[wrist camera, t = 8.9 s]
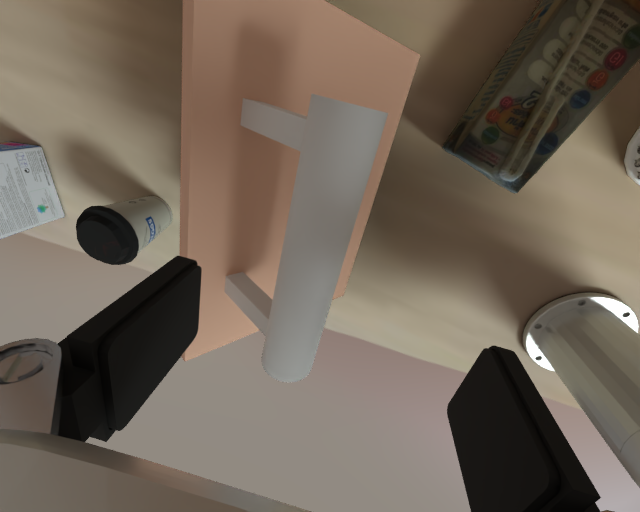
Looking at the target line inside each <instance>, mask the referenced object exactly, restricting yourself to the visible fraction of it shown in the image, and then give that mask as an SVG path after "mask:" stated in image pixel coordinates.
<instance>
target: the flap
mask: <svg viewBox="0 0 640 512" xmlns="http://www.w3.org/2000/svg"><path fill="white" fill-rule="evenodd" d="M419 58H420V55H419V54H418V53H416V52H414V51H412V50H411V49H409V48H407V47H405V46H404V45H402V44H400V43H398V42H397V41H395V40H393V39H391V38H390V37H388V36H386V35H384V34H383V33H381V32H379V31H377V30H376V29H374V28H372V27H370V26H369V25H367V24H365V23H363V22H362V21H360V20H358V19H356V18H355V17H353V16H351V15H349V14H348V13H346V12H344V11H342V10H341V9H339V8H337V7H335V6H334V5H332V4H330V3H328V2H327V1H325V0H183V21H182V105H181V188H180V256H182V257H186V258H189V259H193V260H196V261H197V264H198V266H200V267H201V269H202V274H201V291H200V309H199V326H198V332H197V335H196V337H195V339H194V340H193V342H192V343H191V344H190V345H189V347H188V348H187V349H186V350H185V352H184V353H183V354H182V358H183V360H184V361H188V360H190V359H193V358H195V357H197V356H199V355H202V354H205V353H207V352H209V351H212V350H214V349H216V348H219V347H221V346H224V345H226V344H228V343H231V342H233V341H236V340H238V339H240V338H243V337H245V336H248V335H250V334H252V333H255V332H257V331H261V332H262V333H263V334H264V335H265V336H266V337H265V343H264V348H263V353H262V366H263V368H264V370H265V371H266V372H267V373H268V375H270V376H271V377H272V378H274V379H276V380H279V381H282V382H296V381H299V380H302V379H303V378H305V377H306V376H307V375H308V374H309V373H310V371H311V368H312V365H313V361H314V358H315V355H316V351H317V348H318V345H319V341H320V338H321V335H322V331H323V328H324V325H325V322H326V318H327V315H328V312H329V308H330V305H331V302H332V300H334V299H336V298H338V297H341V296H343V295H344V292H345V289H346V286H347V283H348V280H349V277H350V274H351V271H352V267H353V264H354V261H355V258H356V255H357V252H358V249H359V246H360V242H361V239H362V236H363V233H364V230H365V227H366V224H367V221H368V218H369V214H370V211H371V208H372V205H373V202H374V199H375V196H376V193H377V189H378V186H379V183H380V180H381V177H382V174H383V171H384V168H385V164H386V161H387V158H388V155H389V152H390V149H391V146H392V143H393V139H394V136H395V133H396V130H397V127H398V124H399V121H400V118H401V114H402V111H403V108H404V105H405V102H406V99H407V96H408V93H409V90H410V86H411V83H412V80H413V77H414V74H415V71H416V68H417V65H418V61H419Z"/></svg>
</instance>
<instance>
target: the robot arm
mask: <svg viewBox="0 0 640 512" xmlns="http://www.w3.org/2000/svg"><path fill="white" fill-rule="evenodd" d="M201 274H202V269H201V267H200V266H198V264H197V261H196V260H193V259H189V258H186V257H182V256H176V257H175V258H173V259H172V260H171V261H169V262H168V263H167V264H165V265H164V266H162V267H161V268H160V269H158V270H157V271H156V272H154V273H153V274H152V275H150V276H149V277H147V278H146V279H145V280H143V281H142V282H141V283H139V284H138V285H136V286H135V287H134V288H132V289H131V290H130V291H128V292H127V293H125V294H124V295H123V296H122V297H120V298H119V299H118V300H116V301H115V302H113V303H112V304H110V305H109V306H108V307H106V308H105V309H104V310H102V311H101V312H99V313H98V314H97V315H95V316H94V317H93V318H91V319H90V320H88V321H87V322H86V323H84V324H83V325H82V326H80V327H79V328H78V329H76V330H75V331H74V332H72V333H71V334H69V335H68V336H67V338H65V339H63V340H62V341H61V342H59V343H58V344H56V343H55V342H53V341H50V340H47V339H39V338H35V339H24V340H19V341H15V342H11V343H8V344H6V345H3V346H0V512H311V511H308V510H304V509H301V508H298V507H295V506H292V505H289V504H286V503H282V502H279V501H276V500H273V499H270V498H267V497H263V496H260V495H257V494H254V493H250V492H247V491H244V490H241V489H238V488H234V487H232V486H228V485H225V484H222V483H218V482H215V481H212V480H209V479H205V478H202V477H199V476H196V475H193V474H190V473H186V472H183V471H180V470H177V469H173V468H170V467H167V466H164V465H161V464H157V463H154V462H151V461H148V460H144V459H141V458H137V457H134V456H131V455H127V454H124V453H120V452H116V451H113V450H110V449H106V448H103V447H99V446H96V445H92V444H89V443H85V441H86V440H87V439H88V438H89V437H93V438H96V439H99V440H102V441H105V442H107V440H108V439H109V438H110V437H111V436H112V434H113V433H114V432H115V430H118V431H120V430H122V429H123V428H124V427H125V426H126V425H127V424H128V423H129V421H130V420H131V419H132V418H133V416H134V415H135V414H136V413H137V411H138V410H139V409H140V407H141V406H142V405H143V404H144V402H145V401H146V400H147V399H148V397H149V396H150V394H152V392H153V391H154V390H155V388H156V387H157V386H158V385H159V383H160V382H161V381H162V380H163V378H164V377H165V376H166V374H167V373H168V372H169V371H170V369H171V368H172V367H173V366H174V364H175V363H176V362H177V361H178V359H179V358H180V357H181V356H182V354H183V353H184V352H185V350H186V349H187V348H188V347H189V345H190V344H191V343H192V342H193V340H194V339H195V337H196V335H197V332H198V326H199V309H200V291H201ZM523 345H524V348H525V350H526V352H527V353H528V355H529V356H530V358H531V359H532V360H533V361H534V362H535V363H537V364H538V365H539V366H541V367H543V368H546V369H548V370H552V371H555V372H556V373H557V375H558V376H559V377H560V379H561V380H562V382H563V383H564V384H565V386H566V387H567V389H568V390H569V391H570V393H571V394H572V396H573V397H574V398H575V400H576V401H577V403H578V404H579V405H580V407H581V408H582V409H583V411H584V412H585V414H586V415H587V416H588V418H589V419H590V421H591V422H592V423H593V425H594V426H595V428H596V429H597V430H598V432H599V433H600V434H601V436H602V437H603V439H604V440H605V442H606V443H607V444H608V446H609V447H610V449H611V450H612V451H613V453H614V454H615V455H616V457H617V458H618V460H619V461H620V462H621V464H622V465H623V467H624V468H625V469H626V471H627V472H628V473H629V475H630V476H631V478H632V479H633V480H634V481H635V483H636V484H637V485H638V486H639V488H640V334H639V333H638V320H637V317H636V315H635V313H634V312H633V311H632V310H631V309H630V308H629V306H627V305H626V304H625V303H623V302H622V301H620V300H619V299H617V298H615V297H613V296H610V295H606V294H602V293H578V294H572V295H568V296H565V297H562V298H559V299H557V300H554V301H552V302H550V303H548V304H547V305H545V306H544V307H542V308H541V309H539V310H538V311H537V312H536V313H535V314H534V315H533V316H532V317H531V319H530V320H529V321H528V323H527V325H526V327H525V329H524V332H523ZM447 414H448V419H449V423H450V427H451V431H452V435H453V439H454V444H455V447H456V452H457V456H458V460H459V464H460V468H461V472H462V476H463V480H464V484H465V488H466V492H467V496H468V500H469V505H470V508H471V512H600V510H599V509H598V507H597V505H596V503H595V502H596V501H597V500H598V499H600V496H599V494H598V492H597V491H596V489H595V487H594V485H593V484H592V482H591V480H590V479H589V477H588V476H587V474H586V472H585V470H584V469H583V467H582V465H581V463H580V462H579V460H578V458H577V457H576V455H575V453H574V452H573V450H572V448H571V447H570V445H569V443H568V441H567V440H566V438H565V436H564V435H563V433H562V431H561V430H560V428H559V426H558V425H557V423H556V421H555V419H554V418H553V416H552V414H551V413H550V411H549V409H548V408H547V406H546V404H545V403H544V401H543V399H542V397H541V396H540V394H539V392H538V391H537V389H536V387H535V386H534V384H533V382H532V380H531V379H530V377H529V375H528V374H527V372H526V370H525V369H524V367H523V365H522V364H521V362H520V360H519V358H518V357H517V355H516V354H515V352H513V351H511V350H508V349H504V348H501V347H497V346H491V347H489V349H487V348H485V349H484V350H483V351H482V352H481V354H480V355H479V357H478V358H477V360H476V361H475V363H474V365H473V366H472V368H471V369H470V371H469V372H468V374H467V376H466V377H465V379H464V380H463V382H462V383H461V385H460V387H459V388H458V390H457V391H456V393H455V395H454V396H453V398H452V399H451V401H450V402H449V404H448V409H447ZM602 512H613V511H609V510H605V511H602Z"/></svg>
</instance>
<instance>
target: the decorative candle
mask: <svg viewBox="0 0 640 512" xmlns="http://www.w3.org/2000/svg"><path fill="white" fill-rule="evenodd" d="M624 164H625V168H626V172H627V175H628V176H629V177H630V178H631V179H632V180H633V181H634V182H635V183H636V184H638V185H640V127H639V128H638V129H637V131H636V132H635V134H634V135H633V137H632V139H631V140H630V142H629V143H628V145H627V150H626V154H625V158H624Z"/></svg>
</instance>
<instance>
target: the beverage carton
mask: <svg viewBox="0 0 640 512" xmlns="http://www.w3.org/2000/svg"><path fill="white" fill-rule="evenodd" d="M639 59H640V0H542V1H541V3H540V4H539V5H538V7H537V8H536V10H535V11H534V13H533V14H532V16H531V17H530V19H529V20H528V22H527V23H526V25H525V26H524V27H523V29H522V30H521V31H520V33H519V34H518V36H517V37H516V39H515V40H514V42H513V43H512V44H511V46H510V47H509V49H508V50H507V52H506V53H505V55H504V56H503V58H502V59H501V61H500V62H499V63H498V65H497V66H496V68H495V69H494V71H493V72H492V74H491V75H490V76H489V78H488V79H487V81H486V82H485V84H484V85H483V86H482V88H481V89H480V91H479V92H478V94H477V95H476V97H475V98H474V100H473V101H472V103H471V104H470V106H469V107H468V109H467V110H466V112H465V113H464V115H463V116H462V118H461V120H460V121H459V123H458V125H457V126H456V128H455V129H454V130H453V132H452V133H451V135H450V136H449V138H448V139H447V141H446V142H445V143H444V145H443V146H442V148H443V149H444V150H445V151H446V152H448V153H450V154H452V155H454V156H456V157H458V158H459V159H461V160H462V161H464V162H465V163H467V164H468V165H470V166H471V167H473V168H474V169H476V170H478V171H479V172H481V173H482V174H484V175H485V176H486V177H487V178H488V179H490V180H492V181H493V182H495V183H497V184H498V185H500V186H502V187H504V188H505V189H507V190H509V191H510V192H512V193H518V192H519V190H520V189H521V188H522V187H523V186H524V185H525V184H526V183H527V182H528V180H529V179H530V178H531V177H532V176H533V175H534V174H536V173H537V171H538V170H539V169H540V168H541V167H542V165H543V164H544V163H545V162H546V161H547V160H548V159H549V158H550V157H551V156H552V155H553V154H554V153H555V152H556V150H557V149H558V148H559V147H560V146H561V145H562V144H563V143H564V141H565V140H566V139H567V138H568V137H569V136H570V135H571V134H572V133H573V132H574V131H575V130H576V128H577V127H578V126H579V125H580V124H581V123H582V122H583V121H584V120H585V118H586V117H587V116H588V115H589V114H590V113H591V112H592V111H593V109H594V108H595V107H596V106H597V105H598V104H599V103H600V102H601V101H602V100H603V99H604V98H605V96H606V95H607V94H608V93H609V92H610V91H611V90H612V89H613V88H614V87H615V86H616V84H617V83H618V82H619V81H620V80H621V79H622V78H623V77H624V75H625V74H626V73H627V72H628V71H629V70H630V69H631V68H632V66H633V65H634V64H635V63H636V62H637V61H638V60H639Z"/></svg>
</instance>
